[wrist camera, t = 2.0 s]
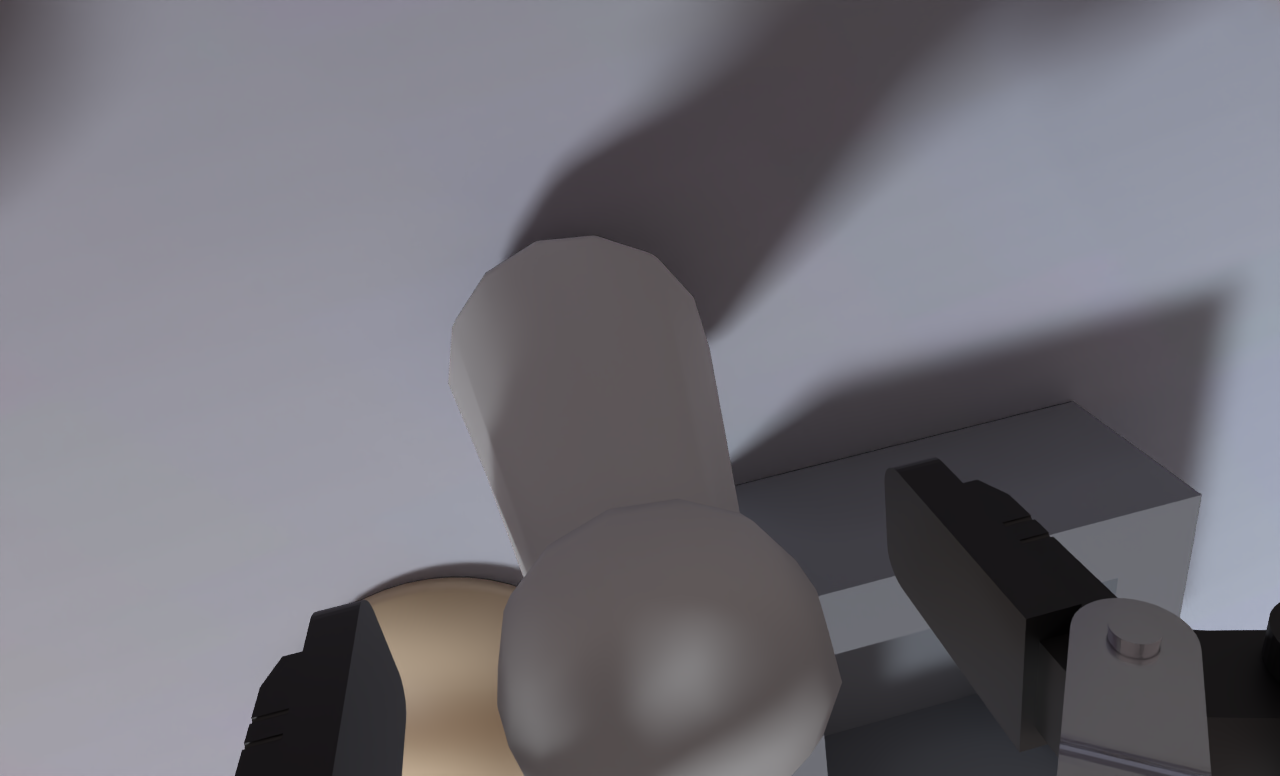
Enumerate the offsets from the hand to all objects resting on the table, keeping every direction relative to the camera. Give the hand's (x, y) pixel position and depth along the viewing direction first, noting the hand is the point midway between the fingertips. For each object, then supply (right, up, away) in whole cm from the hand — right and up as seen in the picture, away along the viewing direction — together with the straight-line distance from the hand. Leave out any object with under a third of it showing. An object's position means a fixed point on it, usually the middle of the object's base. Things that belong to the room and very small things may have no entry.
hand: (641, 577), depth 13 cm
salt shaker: (-2, +5, +8) cm, 10 cm away
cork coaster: (-6, -6, +13) cm, 16 cm away
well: (+8, -4, +15) cm, 17 cm away
